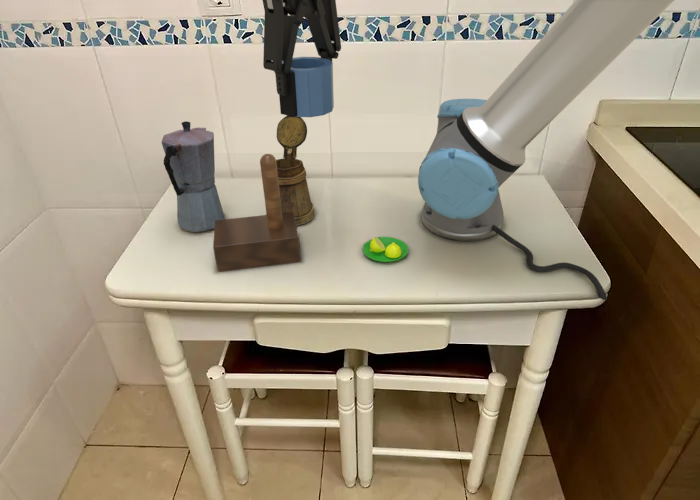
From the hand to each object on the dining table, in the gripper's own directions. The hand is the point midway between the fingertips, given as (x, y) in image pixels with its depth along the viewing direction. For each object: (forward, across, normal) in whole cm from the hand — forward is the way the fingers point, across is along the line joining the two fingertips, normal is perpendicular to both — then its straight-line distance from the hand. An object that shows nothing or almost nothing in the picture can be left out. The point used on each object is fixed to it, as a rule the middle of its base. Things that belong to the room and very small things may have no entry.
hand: (307, 106), depth 82 cm
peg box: (+25, +9, -5) cm, 27 cm away
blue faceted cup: (0, 0, 0) cm, 0 cm away
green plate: (+25, -3, +13) cm, 28 cm away
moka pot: (+25, +8, -22) cm, 34 cm away
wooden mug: (+25, -6, -10) cm, 28 cm away
